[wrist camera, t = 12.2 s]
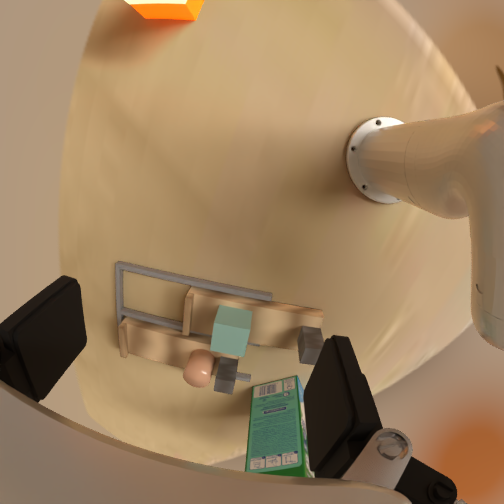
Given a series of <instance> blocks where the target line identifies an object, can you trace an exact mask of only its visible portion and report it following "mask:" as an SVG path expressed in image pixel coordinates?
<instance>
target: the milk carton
mask: <svg viewBox="0 0 504 504" xmlns="http://www.w3.org/2000/svg"><path fill="white" fill-rule="evenodd" d="M303 394H304V390H303V388H302V386H301V383H300V381H299V379H298V376H294V377H290V378H286V379H282V380H278V381H274V382H270V383H266V384H261V385H257V386H253V387H252V397H251V408H250V420H249V431H248V443H247V454H246V464H245V472H251V473H259V474H268V475H279V476H292V477H311V478H315V474H314V472H311V471H310V468H309V456H308V444H307V433H306V422H305V411H304V401H303Z"/></svg>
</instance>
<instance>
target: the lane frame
mask: <svg viewBox="0 0 504 504" xmlns="http://www.w3.org/2000/svg"><path fill="white" fill-rule="evenodd" d="M123 270H127V271H131V272H135V273H139V274H143V275H147V276H152V277H156V278H160V279H164V280H169V281H173V282H178V283H182V284H187V285H191V286H196V287H201V288H205V289H210V290H215V291H220V292H225V293H230V294H235V295H240V296H245V297H250V298H255V299H260V300H266V301H271V299H272V293H268V292H262V291H257V290H252V289H247V288H242V287H237V286H232V285H227V284H222V283H217V282H212V281H207V280H202V279H198V278H193V277H188V276H184V275H179V274H175V273H170V272H166V271H161V270H157V269H152V268H148V267H144V266H139V265H135V264H131V263H126V262H121V261H118V262H117V263H116V305H117V322H118V326H119V325H120V324H121V323H122V321H123V320H124V315H125V316H129V317H132V318H136V319H139V320H143V321H147V322H151V323H154V324H158V325H162V326H166V327H170V328H174V329H178V330H182V331H183V322H178V321H174V320H170V319H166V318H162V317H158V316H154V315H150V314H147V313H143V312H139V311H135V310H132V309H128V308H125V307H123ZM190 332H191V333H195V334H200V335H204V336H209V337H212V335H209V334H204V333H200V332H195V331H190ZM118 336H119V335H118ZM247 344H249V345H254V346H260V344H255V343H249V342H247ZM119 347H120V346H119ZM250 379H251V375H250V374H244V373H238V372H236V380H242V381H247V382H250Z"/></svg>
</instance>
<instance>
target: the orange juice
mask: <svg viewBox="0 0 504 504" xmlns="http://www.w3.org/2000/svg"><path fill="white" fill-rule="evenodd" d="M125 1H126V2H127V3H128V4H130V5H131V6H132V7H133V8H134V9H135V10H137V11H138V12H139V13H140V14H141V15H142V16H143V17H144V18H157V19H182V20H196V19H197V16H198V14H199V11H200V9H201V7H202V4H203V2H204V0H125Z"/></svg>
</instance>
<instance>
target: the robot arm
mask: <svg viewBox="0 0 504 504" xmlns="http://www.w3.org/2000/svg"><path fill="white" fill-rule="evenodd" d="M376 122H377V123H378V124H377V125H376ZM352 147H353V148H354V151H352V150H351V148H352ZM346 162H347V168H348V172H349V175H350V177H351V179H352V181H353V183H354V184H355V186H356V187H357V188H358V190H360V191H361V192H362V193H363V194H364V195H365V196H367V197H368V198H370V199H372V200H374V201H377V202H380V203H386V204H392V203H398V202H401V201H405V202H407V203H409V204H412V205H414V206H416V207H419V208H421V209H423V210H425V211H428V212H430V213H432V214H434V215H436V216H439V217H442V218H446V219H460V218H464V217H467V216H469V224H470V237H471V254H472V273H471V314H472V319H473V323H474V325H475V328H476V330H477V331H478V333H479V334H480V336H481V337H482V338H483V339H484V340H485V341H486V342H487V343H489V344H490V345H492V346H494V347H496V348H498V349H501V350H504V101H500V102H496V103H494V104H491V105H489V106H486V107H484V108H481V109H478V110H475V111H473V112H470V113H467V114H463V115H458V116H453V117H447V118H440V119H432V120H425V121H418V122H411V123H404V122H402V121H400V120H398V119H395V118H391V117H376V118H372V119H369V120H367V121H366V122H364V123H362V124H361V125H360V126H359V127H358V128H357V129H356V130H355V131H354V133H353V134H352V136H351V138H350V140H349V142H348V146H347V151H346ZM362 185H364V188H362ZM86 343H87V336H86V330H85V323H84V315H83V307H82V298H81V288H80V285H79V284H78V282H77V280H76V279H75V278H71V277H68V276H65V275H63V276H61V277H60V278H58V279H57V280H56V281H54V282H53V283H52V284H50V285H49V286H47V287H46V288H45V289H43V290H42V291H41V292H40V293H38V294H37V295H36V296H34V297H33V298H32V299H30V300H29V301H28V302H27V303H25V304H24V305H23V306H21V307H20V308H19V309H18V310H16V311H15V312H14V313H13V314H11V315H10V316H9V317H8V318H7V319H5V320H4V321H3V322H2V323H1V324H0V504H467V503H465V502H464V501H463V500H462V499H461V500H459V501H458V500H457V499H456V498H457V489H456V486H455V484H454V483H453V481H452V480H451V479H449V478H448V477H446V476H444V475H443V474H441V473H439V472H437V471H435V470H434V469H432V468H430V467H428V466H427V465H425V464H424V463H422V462H420V461H419V460H417V459H415V458H414V457H412V456H411V455H412V451H413V449H412V444H411V441H410V439H409V438H408V437H407V436H406V435H405V434H404V433H402V432H401V431H399V430H396V429H392V428H384V429H383V427H382V424H381V421H380V418H379V415H378V412H377V408H376V406H375V403H374V400H373V397H372V394H371V391H370V388H369V385H368V382H367V379H366V377H365V375H364V374H362V373H361V370H360V367H359V364H358V361H357V359H356V356H355V353H354V350H353V348H352V345H351V342H350V340H349V338H348V337H344V336H337V335H333V336H332V337H331V338H330V339H329V338H327V339H326V340H325V342H324V345H323V347H322V350H321V352H320V355H319V357H318V360H317V362H316V364H315V367H314V369H313V371H312V374H311V376H310V378H309V381H308V383H307V385H306V387H305V390H304V394H303V401H304V411H305V422H306V433H307V444H308V456H309V468H310V471H311V472H314V474H315V478H311V477H292V476H279V475H268V474H259V473H251V472H243V471H236V470H230V469H223V468H218V467H213V466H208V465H203V464H198V463H193V462H189V461H185V460H181V459H177V458H173V457H169V456H166V455H162V454H159V453H155V452H152V451H149V450H145V449H142V448H139V447H136V446H133V445H130V444H127V443H125V442H122V441H119V440H116V439H114V438H111V437H108V436H106V435H103V434H101V433H99V432H96V431H94V430H92V429H89V428H87V427H85V426H82V425H80V424H78V423H76V422H74V421H72V420H70V419H67V418H65V417H63V416H61V415H59V414H57V413H56V412H54V411H52V410H50V409H48V408H46V407H44V406H42V405H41V404H39V403H38V402H39V401H40V400H43V399H44V398H45V397H46V396H47V395H48V393H49V392H50V391H51V389H52V388H53V386H54V385H55V384H56V383H57V381H58V380H59V379H60V377H61V376H62V375H63V374H64V372H65V371H66V370H67V368H68V367H69V366H70V365H71V363H72V362H73V361H74V360H75V358H76V357H77V356H78V355H79V353H80V352H81V351H82V350H83V349H84V347H85V346H86Z"/></svg>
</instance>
